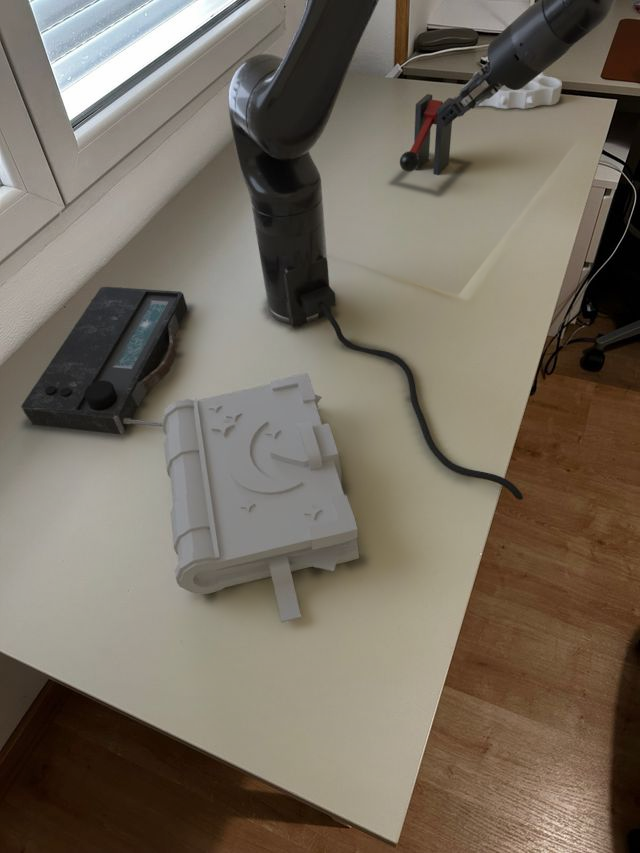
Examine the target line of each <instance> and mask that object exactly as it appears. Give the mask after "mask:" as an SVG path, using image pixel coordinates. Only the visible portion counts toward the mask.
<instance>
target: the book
mask: <svg viewBox="0 0 640 853" xmlns="http://www.w3.org/2000/svg"><path fill="white" fill-rule="evenodd" d="M322 398H323V397H322V396H320V395H318V394H315V391H314V387H313V384H312V379H311V377H310V375H309V372H306V373H300V374H294V375H291V376H287V377H282V378H279V379H276V380H272V381H270V383H269V384H264V385H260V386H256V387H251V388H247V389H242V390H236V391H233V392H228V393H223V394H219V395H215V396H210V397H206V398H201V399H197V398H196V399H190V398H187V399H182V400H175V401H173V402H172V403H171V404H170V405H168V406H167V407H166V408H165V409H164V410H163V414H162V417H161V423H162V427H161V428H162V431H163V433H164V435H165V437H166V438H165V441H164V444H163V445H164V453H165V466H166V472H167V476H168V477H169V479H170V487H171V498H172V508H171V511H170V520H171V531H172V541H173V550H174V552H175V554H176V555H177V559H178V562H177V566H176V568H175V580H176V584H177V586H179V587H180V588H182V589H184V590H185V591H188V592H190V593H193V594H203V595H205V594H206V595H209V594H213V593H215V592H219V591H222V590H223V589H225V588H228V587H232V586H236V585H237V586H238V585H241V584H245V583H249V582H252V581H257V580H261V579H265V578H270V577H271V579H272V585H273V588H274V594H275V597H276V598H275V599H276V603H277V607H278V612H279V617H280V622H281V623H287V622H290V621H295V620H298V619H302V615H301V610H300V606H299V602H298V597H297V593H296V588H295V584H294V579H293V575H292V572H294V571H299V570H303V569H307V568H311V567H314V568H315V569H322V570H327V571H332V572H335V570H336V566H337V565H338V564H344V563H347V562H351V561H355V560H358V559H360V555H359V554H360V553H359V545H358V539H357V538H358V534H359V532H358V526H357V521H356V518H355V515H354V512H353V509H352V507H351V503H350V501H349V499H348V496H347V494H345V493H344V490H343V487H342V478H343V477H342V467H341V466H342V465H341V462H340V455H339V451H338V448H337V445H336V442H335V438H334V436H333V432H332V430H331V427H330V423H328V422H327V423H324V424H322V421H321V417H320V414H319V411H318V408H319V405H318V403H319V402H320V401H321V400H322Z"/></svg>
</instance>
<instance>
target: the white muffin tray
mask: <svg viewBox="0 0 640 853" xmlns="http://www.w3.org/2000/svg"><path fill="white" fill-rule="evenodd" d="M562 87H563V82H562V80H561V79H559V78H556V77H553V76H547V75H545V74H544V71H543V72H542V73H540V74H539V75H538V76H537V77H535V78H534V79H533V80H531V81H530V82H529V83H528V84H526V85H525V86H524V87H523V88H521V89H519V90H511V89H509V88H507V87H506V86H503V87H502V88H500V89H499V91H498V92H497V93H496V94H494V95H493V96H492V97H491V98H489V99H485V100H484V101H483V102H482V103H481V104H479V105H478V106H477V107H493V108H497V109H502V110H510V109H523V110H525V109H533V108H535V107H540V106H554V105H556V104H557V103H558V102H559V101H560V98H561V94H562Z"/></svg>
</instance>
